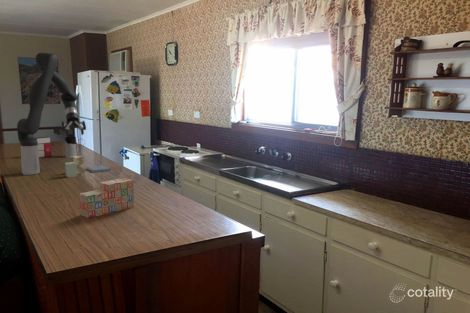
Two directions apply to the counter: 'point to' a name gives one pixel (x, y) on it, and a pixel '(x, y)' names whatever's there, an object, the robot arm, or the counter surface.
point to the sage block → (70, 169)
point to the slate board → (98, 169)
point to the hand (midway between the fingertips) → (75, 134)
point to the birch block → (79, 163)
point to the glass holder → (71, 147)
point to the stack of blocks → (107, 198)
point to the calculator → (44, 146)
